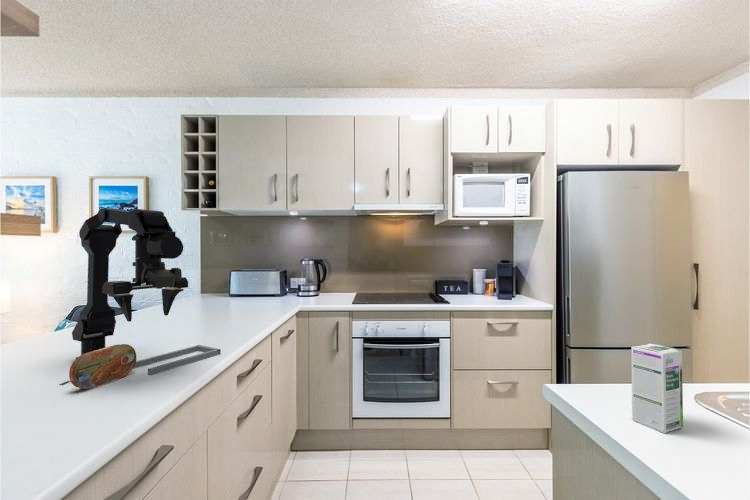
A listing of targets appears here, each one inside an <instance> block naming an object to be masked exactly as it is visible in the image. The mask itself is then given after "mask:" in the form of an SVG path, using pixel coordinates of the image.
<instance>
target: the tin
mask: <svg viewBox="0 0 750 500" xmlns="http://www.w3.org/2000/svg"><path fill="white" fill-rule="evenodd" d="M77 357H78V358H77V359H76V358H75V359H74V361H72V363H71V365H70V367H69V371H68V378H69V381H71V382H70V384H72V385H73V386H74V387H75V388H79V389H85V390H92V389H95V388H98V387H101V386H104V385H106V384H109V383H112V382H114V381H117V380H120V379H122V378H125V377H126V376H128V375H129V374H130V373H132V371H133V370H134V369H135V368H134V366H135V363H136V361H137V352H136V350H135V348H134V346H132V345H130V344H126V343H122V344H121V343H120V344H113V345H110V346H105V348H103V349H99V350H95V351H92V352H88V353H85V354H82V355H81V354H80V355H79V356H77ZM133 368H134V369H133Z"/></svg>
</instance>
